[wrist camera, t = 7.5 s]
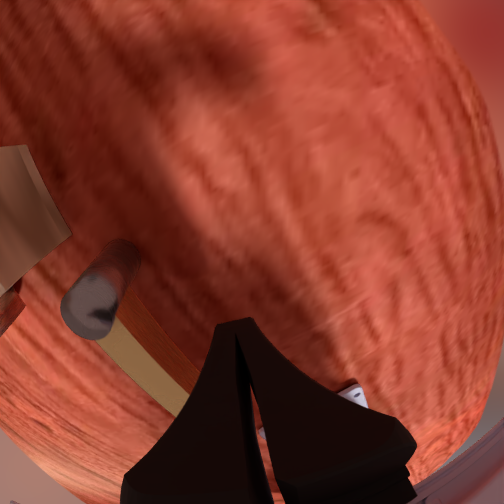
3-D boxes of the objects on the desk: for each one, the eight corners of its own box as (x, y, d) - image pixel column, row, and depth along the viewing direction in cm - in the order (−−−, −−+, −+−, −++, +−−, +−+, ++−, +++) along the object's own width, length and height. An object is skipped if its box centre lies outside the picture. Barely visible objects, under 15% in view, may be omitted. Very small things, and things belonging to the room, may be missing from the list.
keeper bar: (234, 377, 15) (245, 443, 11) (207, 388, 15) (212, 453, 11) (126, 231, 11) (86, 280, 7) (96, 251, 11) (50, 304, 7)
